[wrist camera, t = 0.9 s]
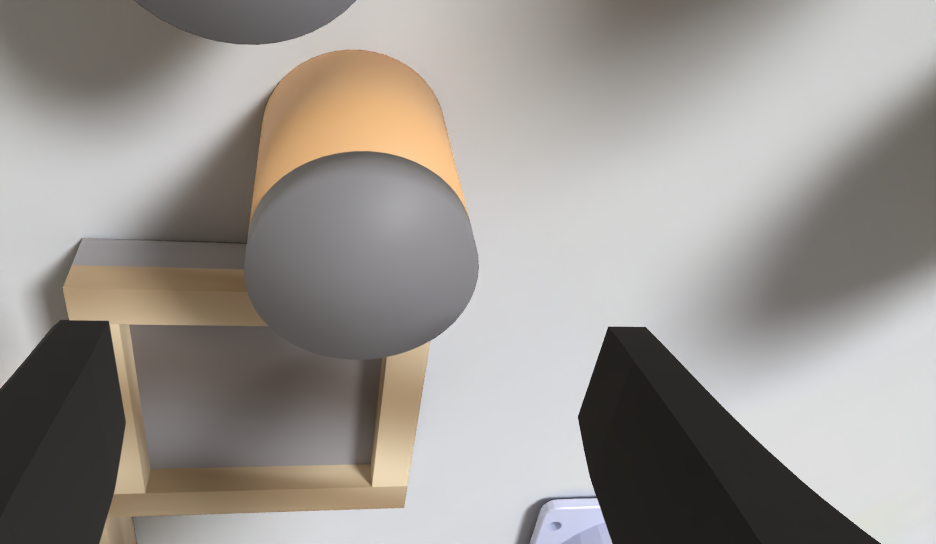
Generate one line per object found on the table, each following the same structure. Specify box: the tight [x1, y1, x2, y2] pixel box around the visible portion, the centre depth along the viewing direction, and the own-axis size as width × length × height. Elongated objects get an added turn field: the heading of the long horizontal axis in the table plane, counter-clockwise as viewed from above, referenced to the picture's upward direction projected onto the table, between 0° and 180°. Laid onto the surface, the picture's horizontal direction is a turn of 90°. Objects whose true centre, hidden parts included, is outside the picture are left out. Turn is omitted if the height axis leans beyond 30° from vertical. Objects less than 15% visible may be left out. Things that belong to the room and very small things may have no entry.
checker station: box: [63, 238, 430, 544], centre depth 22 cm, size 17×16×2 cm
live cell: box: [244, 50, 479, 360], centre depth 16 cm, size 4×4×5 cm
